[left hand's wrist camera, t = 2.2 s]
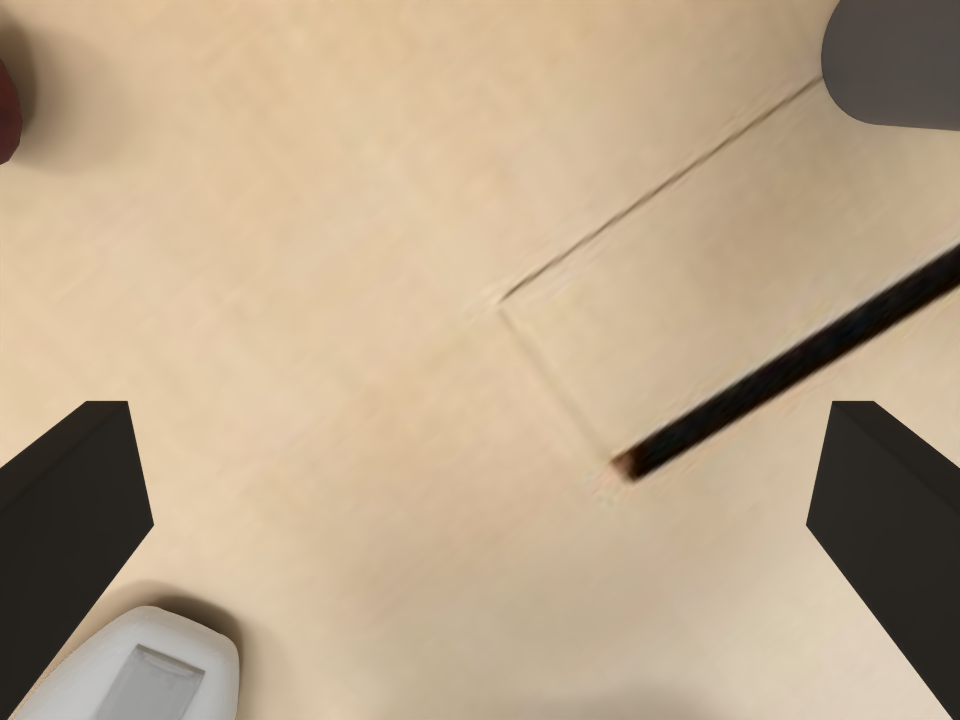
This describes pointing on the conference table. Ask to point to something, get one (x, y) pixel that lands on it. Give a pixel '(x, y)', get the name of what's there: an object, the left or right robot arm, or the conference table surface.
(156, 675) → the projector
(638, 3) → the conference table surface
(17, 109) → the dark maroon ball
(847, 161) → the conference table surface
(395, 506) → the conference table surface
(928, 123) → the jar
